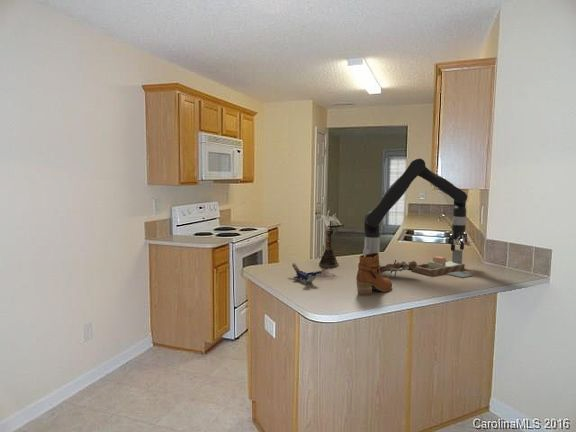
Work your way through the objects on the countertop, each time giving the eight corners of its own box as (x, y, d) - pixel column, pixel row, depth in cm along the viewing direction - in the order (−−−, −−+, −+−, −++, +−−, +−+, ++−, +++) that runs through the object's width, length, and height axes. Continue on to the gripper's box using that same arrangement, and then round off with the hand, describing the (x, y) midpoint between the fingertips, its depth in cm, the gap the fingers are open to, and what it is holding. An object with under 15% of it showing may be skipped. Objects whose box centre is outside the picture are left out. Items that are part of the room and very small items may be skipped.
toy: (304, 292, 202) (306, 273, 199) (284, 272, 221) (286, 255, 218) (321, 289, 207) (324, 271, 204) (300, 270, 226) (302, 253, 223)
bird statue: (347, 268, 242) (349, 210, 238) (328, 270, 237) (329, 210, 234) (335, 262, 257) (336, 208, 254) (316, 264, 252) (317, 208, 249)
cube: (439, 266, 235) (440, 258, 234) (432, 265, 239) (433, 256, 238) (445, 265, 237) (445, 257, 237) (438, 264, 241) (438, 256, 241)
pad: (462, 278, 220) (462, 277, 219) (446, 274, 228) (446, 273, 228) (473, 275, 225) (473, 274, 225) (457, 272, 233) (457, 271, 233)
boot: (384, 285, 205) (385, 248, 203) (398, 289, 197) (400, 251, 195) (349, 292, 191) (349, 253, 189) (363, 297, 183) (363, 256, 182)
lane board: (430, 275, 224) (430, 270, 224) (411, 270, 236) (411, 265, 236) (464, 269, 240) (464, 264, 239) (444, 265, 251) (444, 260, 251)
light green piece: (441, 270, 232) (441, 254, 231) (428, 267, 240) (428, 251, 239) (464, 266, 244) (465, 250, 243) (452, 263, 251) (452, 248, 250)
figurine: (364, 261, 227) (414, 253, 224) (366, 275, 230) (415, 268, 227) (366, 270, 217) (418, 262, 214) (369, 285, 221) (420, 277, 218)
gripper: (460, 222, 251) (459, 248, 253) (446, 223, 244) (444, 250, 245) (471, 224, 245) (470, 250, 246) (456, 225, 237) (455, 252, 239)
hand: (457, 250), depth 246 cm, fingers open, 8 cm apart
